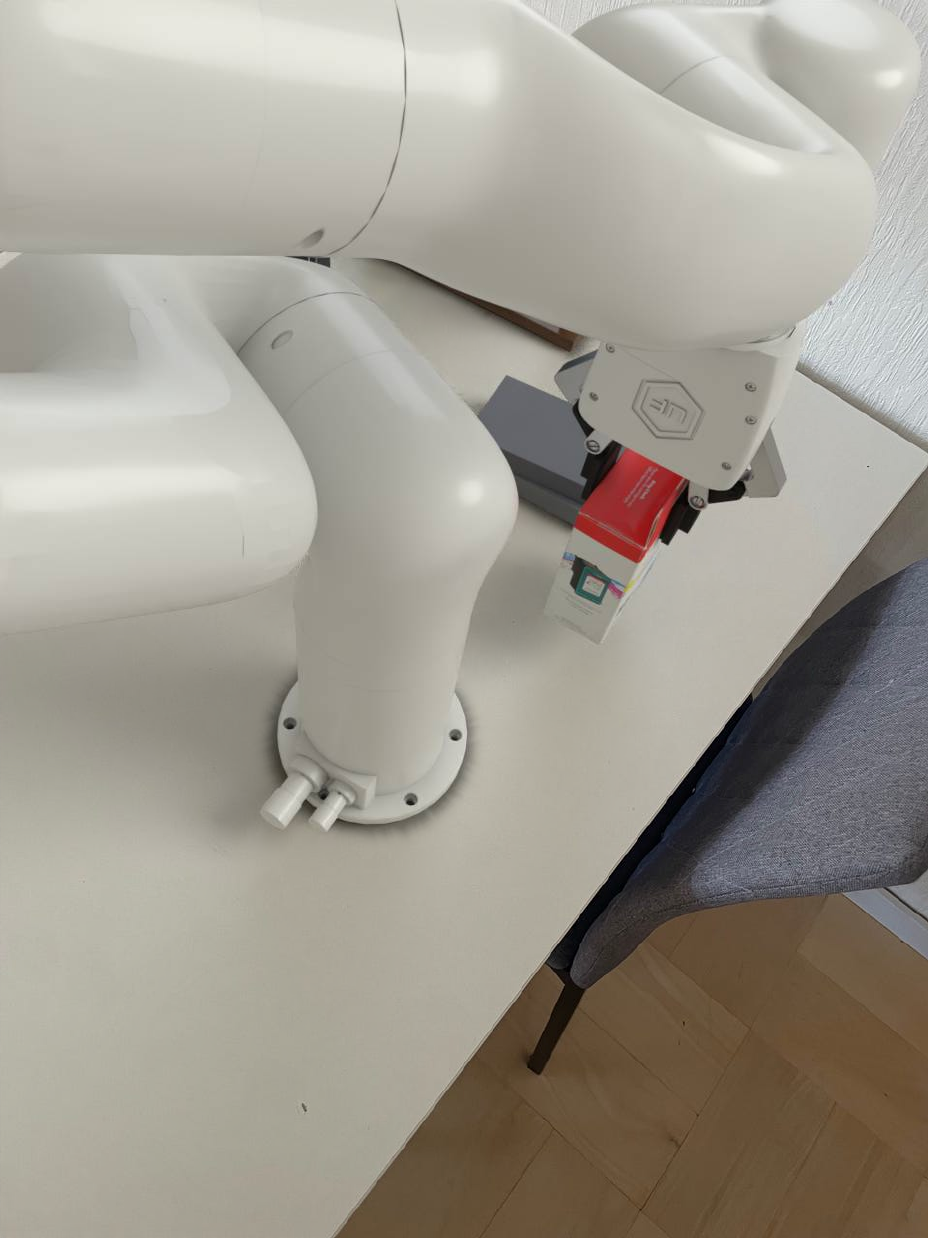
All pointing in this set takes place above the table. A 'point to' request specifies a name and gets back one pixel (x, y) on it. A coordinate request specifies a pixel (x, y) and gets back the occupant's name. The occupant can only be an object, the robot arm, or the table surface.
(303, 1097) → the table surface
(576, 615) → the ink box
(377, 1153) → the table surface
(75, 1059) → the table surface
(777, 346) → the robot arm
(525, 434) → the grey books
